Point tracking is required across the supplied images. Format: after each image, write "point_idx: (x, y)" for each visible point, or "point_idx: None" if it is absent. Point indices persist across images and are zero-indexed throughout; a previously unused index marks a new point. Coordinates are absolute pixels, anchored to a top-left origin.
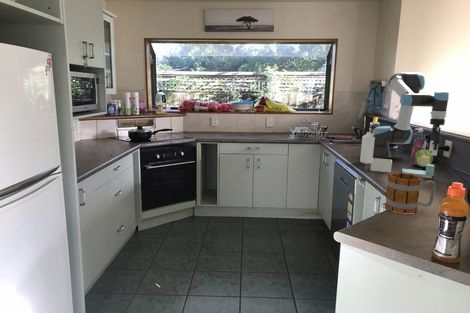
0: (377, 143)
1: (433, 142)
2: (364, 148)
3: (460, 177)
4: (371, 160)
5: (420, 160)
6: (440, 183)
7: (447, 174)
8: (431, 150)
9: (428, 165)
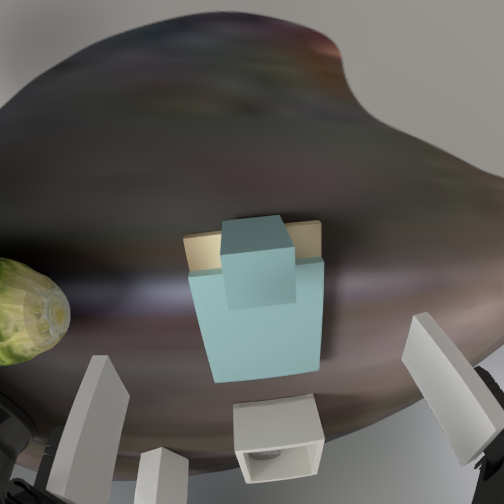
0: (11, 464)
1: (480, 480)
2: None
3: (156, 35)
4: (309, 475)
5: (61, 337)
6: (426, 175)
7: (105, 122)
8: (117, 385)
9: (285, 293)
